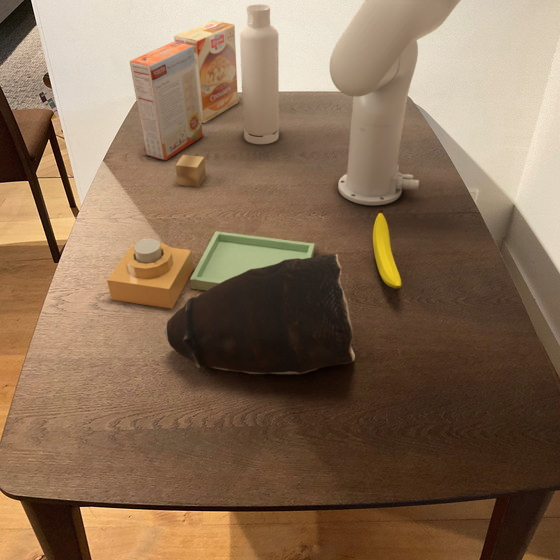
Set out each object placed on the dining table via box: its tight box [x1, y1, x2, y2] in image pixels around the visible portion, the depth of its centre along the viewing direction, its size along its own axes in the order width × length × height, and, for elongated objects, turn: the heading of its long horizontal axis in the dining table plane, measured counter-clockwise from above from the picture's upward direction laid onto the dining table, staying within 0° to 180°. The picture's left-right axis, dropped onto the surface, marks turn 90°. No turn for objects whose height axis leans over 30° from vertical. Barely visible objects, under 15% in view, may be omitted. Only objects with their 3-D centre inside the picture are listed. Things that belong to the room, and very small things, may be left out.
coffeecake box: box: [173, 20, 239, 124], centre depth 140 cm, size 15×7×20 cm, turn 149°
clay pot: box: [164, 253, 356, 375], centre depth 78 cm, size 15×15×25 cm
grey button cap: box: [134, 237, 162, 264], centre depth 89 cm, size 4×4×2 cm
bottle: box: [239, 4, 280, 145], centre depth 126 cm, size 8×8×28 cm
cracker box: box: [129, 41, 204, 161], centre depth 124 cm, size 14×6×21 cm, turn 149°
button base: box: [106, 241, 195, 310], centre depth 91 cm, size 10×10×6 cm
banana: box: [372, 208, 402, 289], centre depth 93 cm, size 3×19×6 cm, turn 1°
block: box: [175, 154, 207, 188], centre depth 117 cm, size 4×4×4 cm
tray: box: [189, 230, 316, 292], centre depth 95 cm, size 18×14×2 cm
